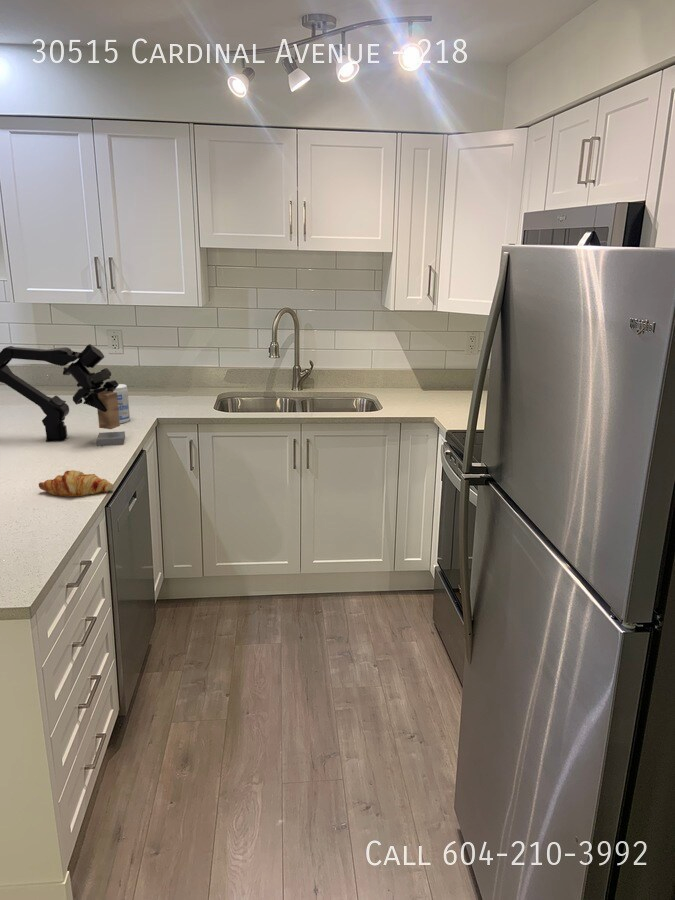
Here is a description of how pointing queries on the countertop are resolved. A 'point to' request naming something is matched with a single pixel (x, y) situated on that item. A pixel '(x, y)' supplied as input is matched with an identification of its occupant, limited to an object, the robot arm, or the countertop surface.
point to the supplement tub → (123, 403)
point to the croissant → (76, 484)
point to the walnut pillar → (108, 410)
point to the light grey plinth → (111, 438)
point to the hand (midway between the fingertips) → (111, 409)
